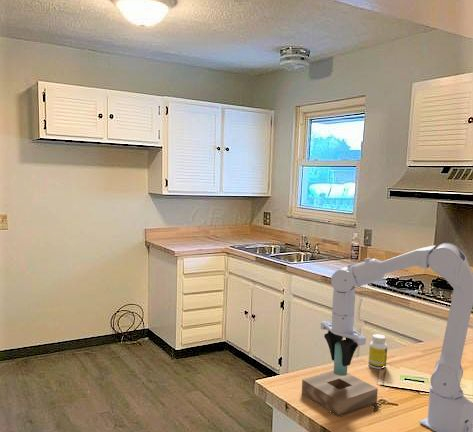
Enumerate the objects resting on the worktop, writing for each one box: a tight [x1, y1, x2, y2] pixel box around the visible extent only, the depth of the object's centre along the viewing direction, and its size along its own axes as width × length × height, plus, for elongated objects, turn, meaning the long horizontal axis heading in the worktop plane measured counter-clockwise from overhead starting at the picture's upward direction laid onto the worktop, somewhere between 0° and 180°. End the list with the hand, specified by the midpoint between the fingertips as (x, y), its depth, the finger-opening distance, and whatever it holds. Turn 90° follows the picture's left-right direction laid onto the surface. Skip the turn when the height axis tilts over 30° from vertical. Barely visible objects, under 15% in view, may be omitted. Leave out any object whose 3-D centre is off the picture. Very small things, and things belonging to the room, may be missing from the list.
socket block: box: [301, 369, 379, 417], centre depth 123 cm, size 14×14×4 cm
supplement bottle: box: [368, 333, 388, 370], centre depth 144 cm, size 5×5×10 cm
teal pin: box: [333, 342, 348, 376], centre depth 122 cm, size 4×4×8 cm
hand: (340, 362), depth 122 cm, fingers closed on teal pin, 3 cm apart
